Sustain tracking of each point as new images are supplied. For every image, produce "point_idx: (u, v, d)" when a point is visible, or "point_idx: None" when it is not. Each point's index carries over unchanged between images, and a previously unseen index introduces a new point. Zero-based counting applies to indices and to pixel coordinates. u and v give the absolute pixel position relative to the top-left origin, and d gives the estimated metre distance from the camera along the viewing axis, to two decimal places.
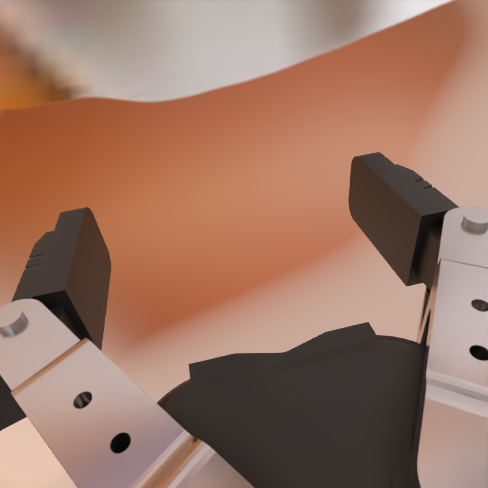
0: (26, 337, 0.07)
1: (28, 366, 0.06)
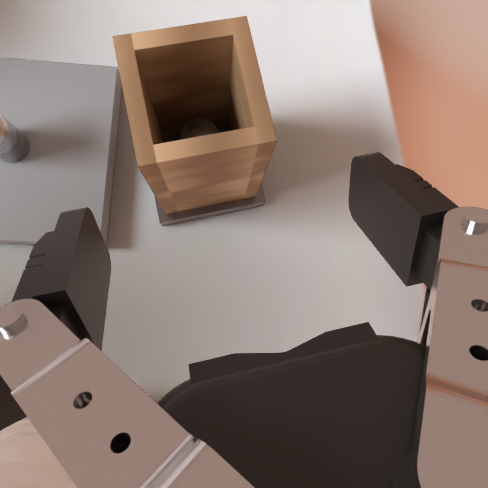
0: (26, 337, 0.07)
1: (28, 366, 0.06)
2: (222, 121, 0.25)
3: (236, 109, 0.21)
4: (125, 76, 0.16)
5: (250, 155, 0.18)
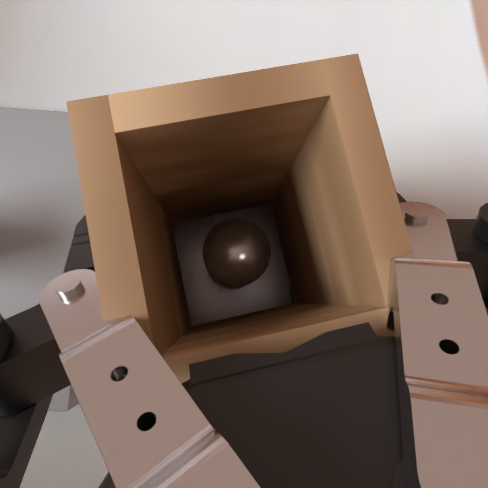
0: (80, 305, 0.07)
1: (93, 326, 0.07)
2: (264, 201, 0.16)
3: (306, 211, 0.11)
4: (94, 194, 0.07)
5: None
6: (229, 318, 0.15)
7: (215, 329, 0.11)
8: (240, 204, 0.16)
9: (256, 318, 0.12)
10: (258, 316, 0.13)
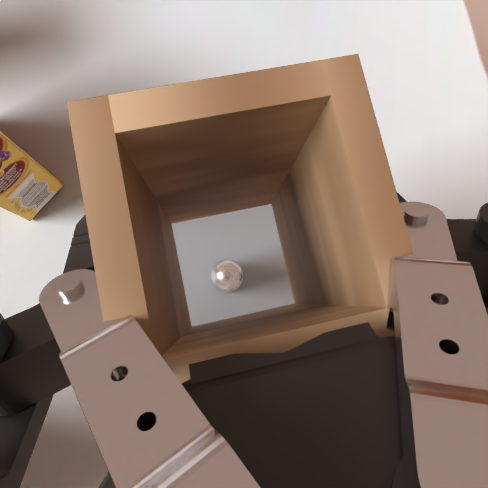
0: (81, 305, 0.07)
1: (93, 325, 0.07)
2: (265, 201, 0.16)
3: (307, 212, 0.11)
4: (94, 195, 0.07)
5: None
6: (229, 318, 0.15)
7: (215, 329, 0.11)
8: (240, 204, 0.16)
9: (256, 318, 0.12)
10: (258, 316, 0.13)
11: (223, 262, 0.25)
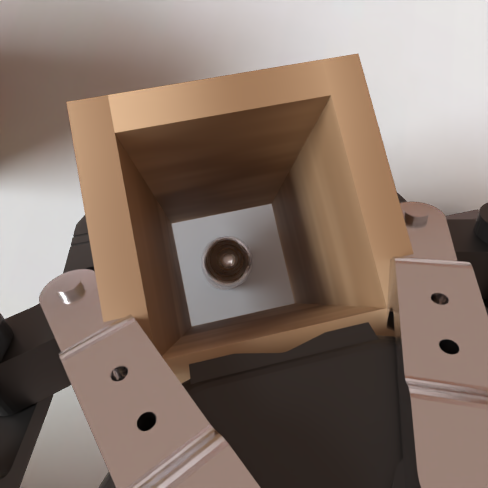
0: (81, 305, 0.07)
1: (93, 326, 0.07)
2: (265, 201, 0.16)
3: (307, 212, 0.11)
4: (94, 195, 0.07)
5: None
6: (229, 318, 0.15)
7: (215, 329, 0.11)
8: (240, 204, 0.16)
9: (256, 318, 0.12)
10: (258, 316, 0.13)
11: (221, 240, 0.16)
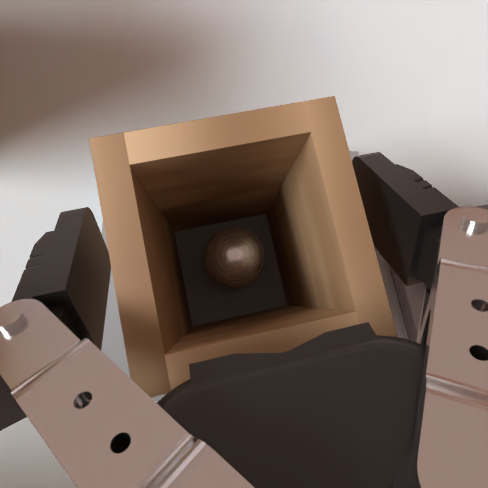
0: (26, 337, 0.07)
1: (28, 366, 0.06)
2: (259, 211, 0.17)
3: (295, 225, 0.13)
4: (112, 217, 0.09)
5: None
6: (227, 319, 0.17)
7: (214, 329, 0.13)
8: (237, 215, 0.17)
9: (250, 319, 0.13)
10: (252, 317, 0.14)
11: (228, 231, 0.13)
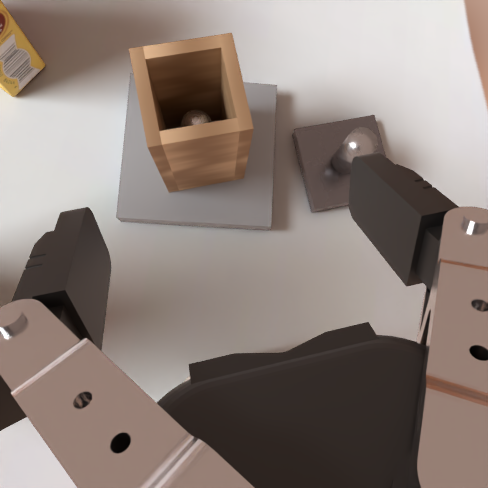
0: (26, 337, 0.07)
1: (28, 366, 0.06)
2: (216, 116, 0.30)
3: (225, 105, 0.26)
4: (138, 79, 0.22)
5: (234, 140, 0.23)
6: None
7: None
8: None
9: None
10: None
11: (192, 110, 0.26)
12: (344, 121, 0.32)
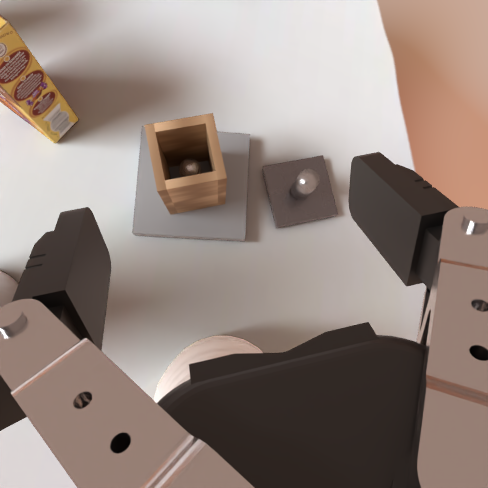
0: (26, 337, 0.07)
1: (28, 366, 0.06)
2: (204, 158, 0.42)
3: (210, 156, 0.37)
4: (151, 145, 0.33)
5: (214, 184, 0.34)
6: None
7: None
8: (194, 159, 0.41)
9: None
10: None
11: (187, 159, 0.37)
12: (300, 160, 0.43)
